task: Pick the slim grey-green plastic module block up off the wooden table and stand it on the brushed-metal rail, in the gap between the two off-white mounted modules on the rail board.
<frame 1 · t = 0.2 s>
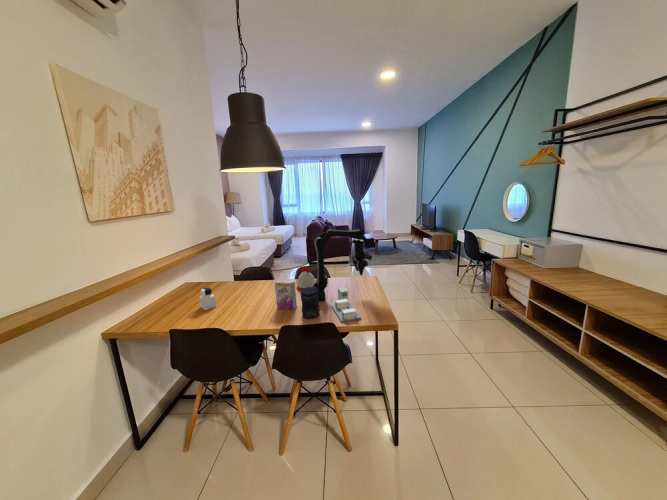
hand: (359, 273, 174), 14 cm above the table, fingers open, 9 cm apart
medicine bottle: (208, 307, 168), on the table
storage jar: (311, 315, 150), on the table
kitchen timer: (306, 287, 195), on the table
module block: (343, 299, 169), on the table
rail board: (345, 312, 151), on the table
candy bar box: (287, 308, 162), on the table
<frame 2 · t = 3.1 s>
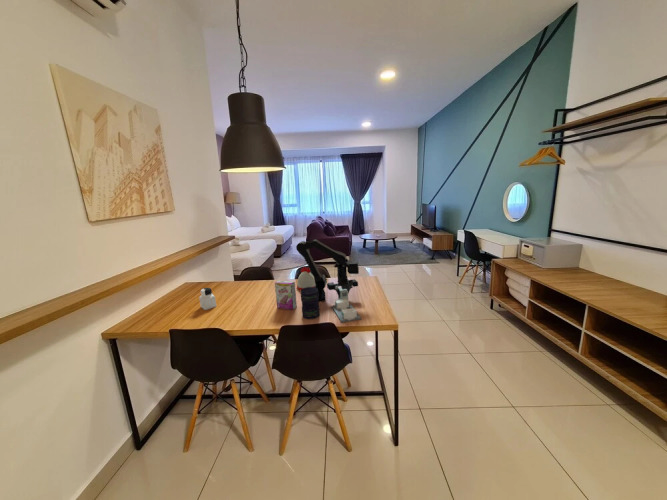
hand: (343, 297, 169), 2 cm above the table, fingers closed on module block, 4 cm apart
module block: (343, 299, 169), on the table, touching gripper
everything else where it was.
when the fingers open (4 cm above the table, at t = 8.4 s): module block drops 2 cm, resting on rail board.
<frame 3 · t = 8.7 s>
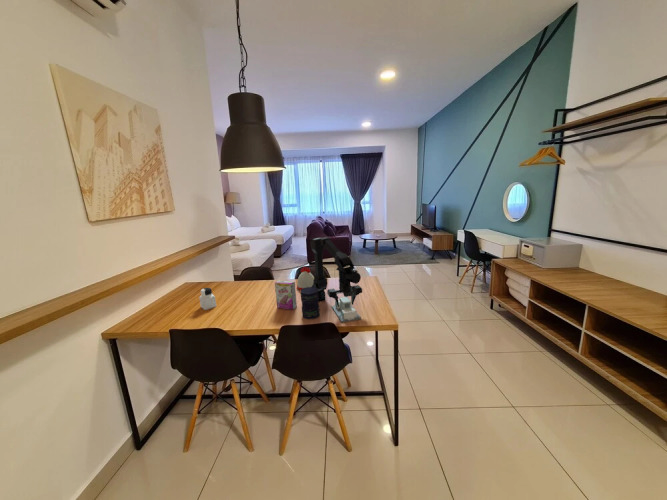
hand: (345, 305, 150), 4 cm above the table, fingers open, 8 cm apart
module block: (345, 311, 151), point 1 cm above the table, touching rail board
everything else where it was.
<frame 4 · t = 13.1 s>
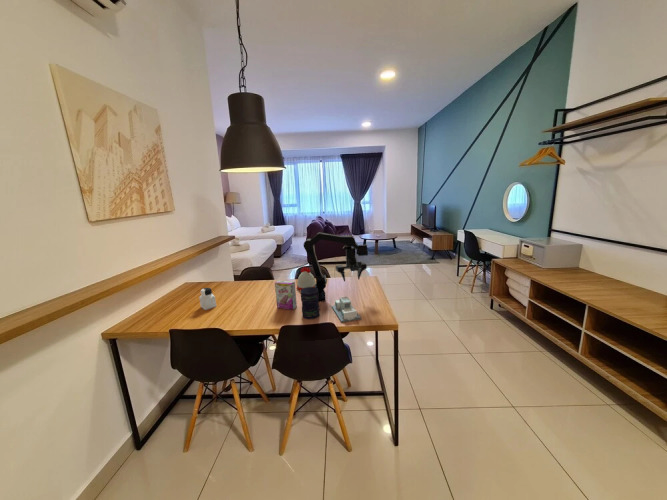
hand: (351, 280, 168), 12 cm above the table, fingers open, 9 cm apart
nothing on the table moved.
at the end: module block 0.0 cm off-centre on the rail board, point 1.0 cm above the rail board's base; module block tilted 0°; the gripper is holding nothing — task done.
